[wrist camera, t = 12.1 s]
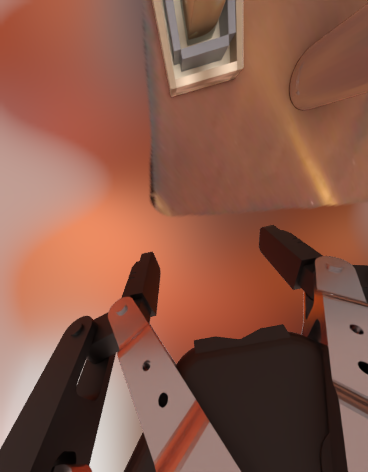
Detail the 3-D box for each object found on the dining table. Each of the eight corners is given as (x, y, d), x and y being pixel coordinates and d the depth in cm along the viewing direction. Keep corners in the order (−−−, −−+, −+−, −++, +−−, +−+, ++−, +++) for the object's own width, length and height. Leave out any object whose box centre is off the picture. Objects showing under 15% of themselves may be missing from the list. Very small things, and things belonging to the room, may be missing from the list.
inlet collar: (221, -69, 18) (232, -119, 15) (227, 58, 24) (235, 43, 21) (154, -45, 19) (150, -88, 15) (175, 73, 24) (175, 61, 21)
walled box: (229, -101, 18) (243, -161, 14) (234, 78, 26) (243, 68, 23) (138, -67, 18) (130, -117, 15) (171, 97, 27) (170, 89, 23)
